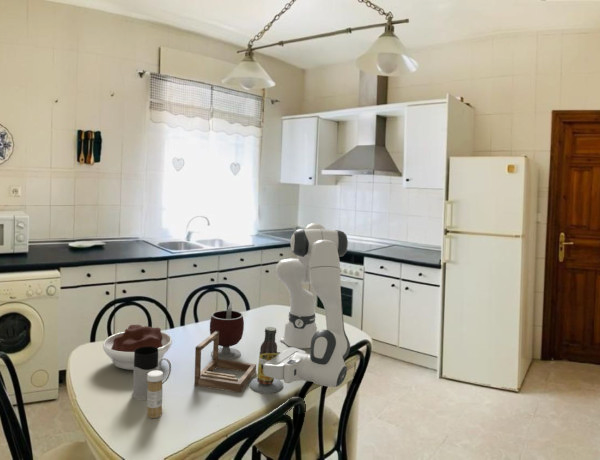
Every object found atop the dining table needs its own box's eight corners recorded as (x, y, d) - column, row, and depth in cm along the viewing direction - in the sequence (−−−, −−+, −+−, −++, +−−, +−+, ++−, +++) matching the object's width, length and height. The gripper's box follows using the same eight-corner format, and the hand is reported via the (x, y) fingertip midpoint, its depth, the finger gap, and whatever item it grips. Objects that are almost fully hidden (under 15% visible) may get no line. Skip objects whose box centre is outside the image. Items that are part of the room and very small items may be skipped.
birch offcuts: (206, 379, 166) (206, 370, 166) (239, 384, 164) (239, 375, 163) (202, 383, 163) (202, 374, 162) (235, 388, 160) (235, 379, 160)
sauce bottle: (258, 386, 160) (262, 332, 157) (255, 378, 166) (258, 325, 163) (276, 385, 162) (280, 331, 159) (273, 377, 168) (276, 325, 165)
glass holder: (144, 385, 159) (144, 344, 157) (178, 394, 154) (179, 351, 152) (125, 396, 151) (126, 352, 149) (161, 406, 146) (162, 360, 144)
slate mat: (255, 376, 171) (255, 374, 171) (286, 380, 169) (286, 379, 169) (244, 390, 159) (244, 388, 159) (278, 395, 157) (278, 393, 157)
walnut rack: (214, 365, 178) (215, 331, 177) (255, 371, 175) (257, 336, 174) (194, 385, 161) (195, 347, 159) (240, 392, 158) (241, 353, 156)
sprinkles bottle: (157, 409, 143) (158, 368, 142) (165, 415, 140) (166, 373, 139) (143, 414, 140) (144, 372, 138) (151, 420, 137) (152, 377, 135)
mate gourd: (239, 362, 183) (241, 313, 181) (205, 360, 184) (207, 311, 181) (245, 348, 199) (247, 303, 197) (213, 346, 199) (215, 301, 197)
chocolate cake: (115, 384, 159) (115, 342, 157) (94, 360, 178) (94, 322, 176) (182, 368, 175) (183, 330, 173) (156, 347, 194) (157, 313, 192)
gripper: (313, 347, 166) (280, 339, 172) (286, 366, 148) (250, 357, 154) (312, 364, 167) (279, 356, 173) (285, 385, 148) (249, 375, 155)
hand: (265, 356), depth 163 cm, fingers closed on sauce bottle, 6 cm apart
